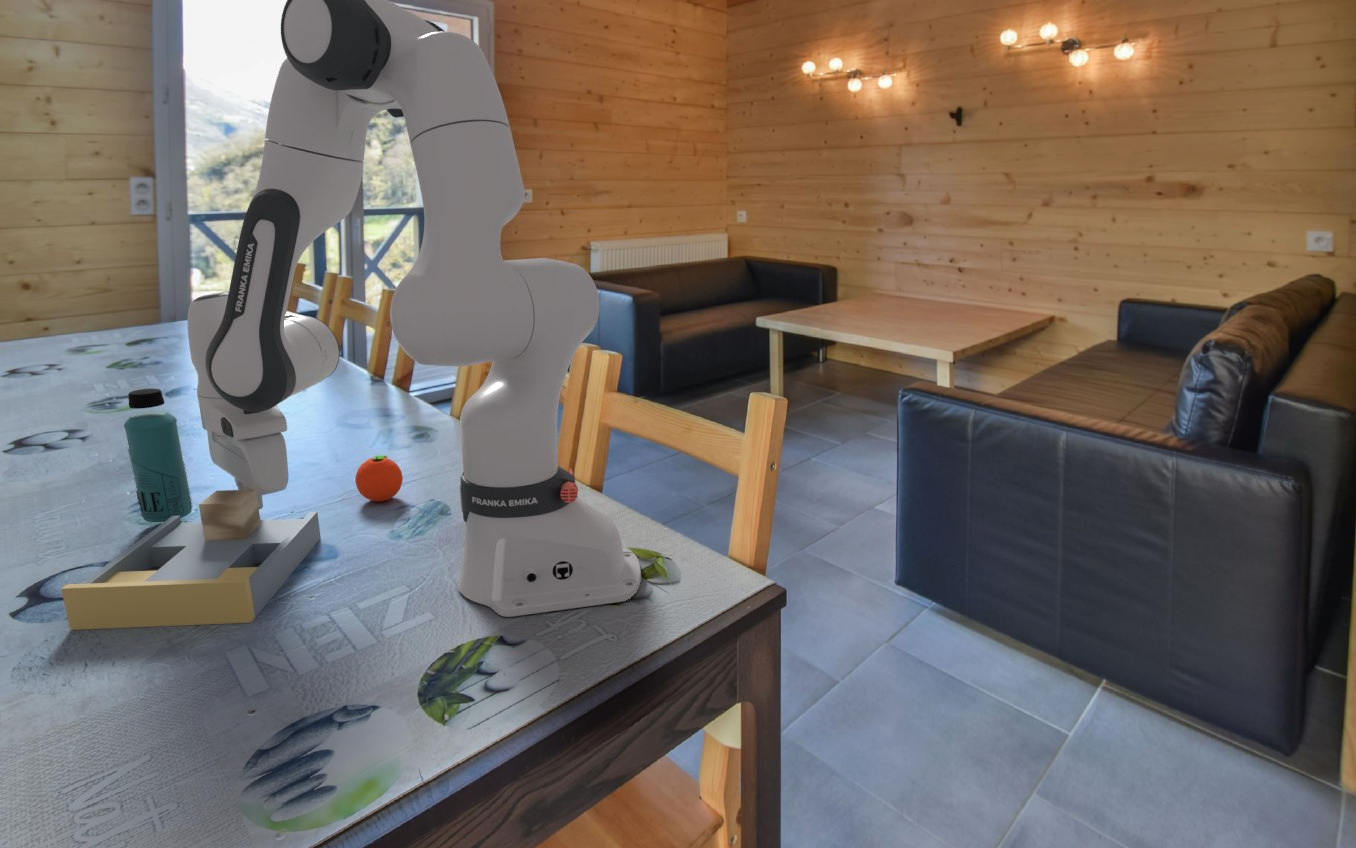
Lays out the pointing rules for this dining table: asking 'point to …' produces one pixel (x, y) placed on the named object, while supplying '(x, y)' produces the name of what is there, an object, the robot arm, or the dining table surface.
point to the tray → (191, 576)
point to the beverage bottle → (156, 459)
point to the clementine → (379, 478)
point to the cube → (230, 515)
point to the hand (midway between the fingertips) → (252, 507)
